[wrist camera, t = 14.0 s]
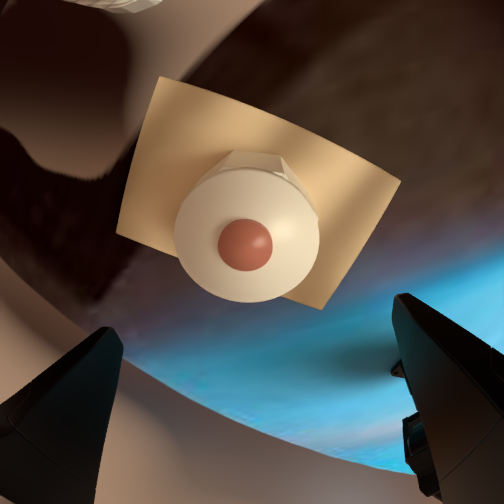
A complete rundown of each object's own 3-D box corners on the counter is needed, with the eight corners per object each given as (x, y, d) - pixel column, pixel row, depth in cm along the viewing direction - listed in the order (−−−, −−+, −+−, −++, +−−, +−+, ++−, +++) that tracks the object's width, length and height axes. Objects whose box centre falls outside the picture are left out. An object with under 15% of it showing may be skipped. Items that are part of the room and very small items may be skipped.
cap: (244, 268, 20) (237, 326, 15) (177, 196, 18) (143, 237, 13) (326, 212, 18) (347, 259, 13) (259, 127, 16) (255, 140, 11)
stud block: (395, 177, 18) (431, 203, 13) (319, 302, 23) (329, 350, 18) (164, 77, 15) (129, 71, 11) (121, 227, 20) (87, 263, 16)
